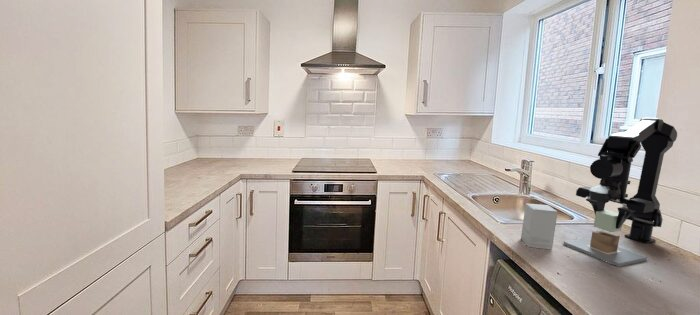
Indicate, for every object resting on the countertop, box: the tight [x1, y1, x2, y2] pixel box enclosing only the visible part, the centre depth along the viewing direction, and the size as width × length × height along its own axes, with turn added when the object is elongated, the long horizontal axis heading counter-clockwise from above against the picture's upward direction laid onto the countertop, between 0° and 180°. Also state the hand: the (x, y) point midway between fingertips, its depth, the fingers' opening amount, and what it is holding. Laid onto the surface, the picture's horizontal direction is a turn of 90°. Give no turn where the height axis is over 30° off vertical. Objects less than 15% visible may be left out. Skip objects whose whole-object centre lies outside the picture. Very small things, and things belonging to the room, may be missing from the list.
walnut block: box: [590, 229, 620, 253], centre depth 102 cm, size 5×5×5 cm
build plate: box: [562, 236, 648, 268], centre depth 103 cm, size 14×16×1 cm
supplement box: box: [520, 202, 558, 250], centre depth 106 cm, size 7×7×13 cm
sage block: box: [593, 209, 623, 233], centre depth 101 cm, size 5×5×5 cm
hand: (607, 225), depth 102 cm, fingers closed on sage block, 5 cm apart
